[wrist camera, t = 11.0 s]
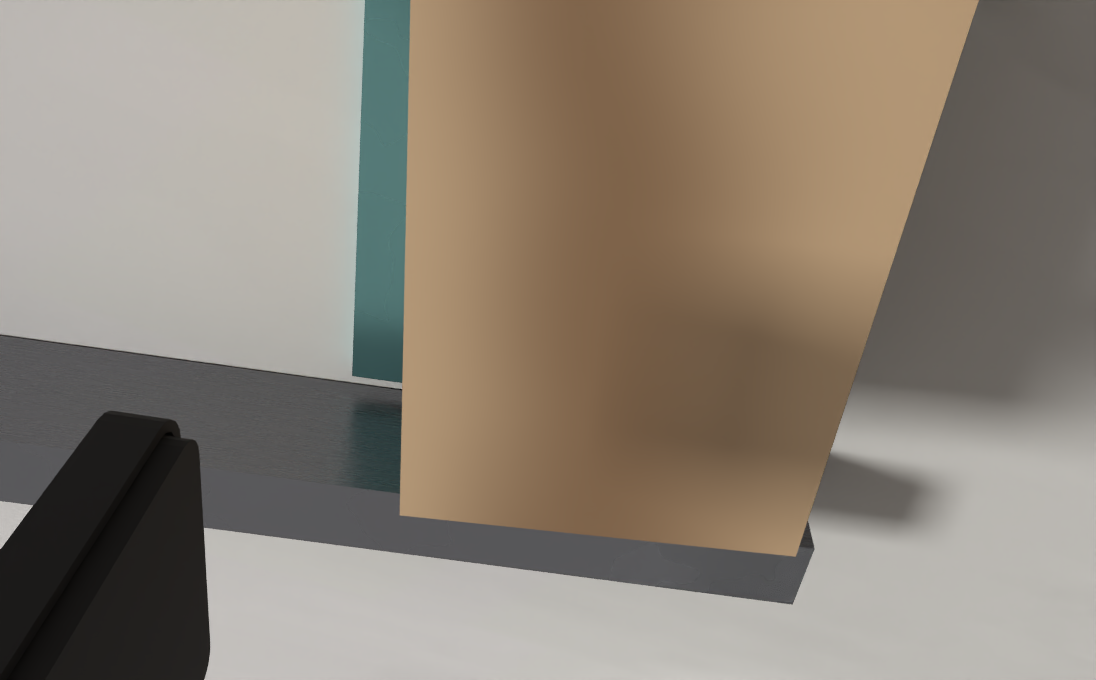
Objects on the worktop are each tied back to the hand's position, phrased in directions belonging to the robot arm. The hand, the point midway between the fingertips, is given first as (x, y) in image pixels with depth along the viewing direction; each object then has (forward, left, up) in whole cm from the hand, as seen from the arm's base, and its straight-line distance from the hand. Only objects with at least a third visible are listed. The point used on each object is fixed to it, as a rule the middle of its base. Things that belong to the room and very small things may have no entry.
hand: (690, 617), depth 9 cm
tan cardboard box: (0, -1, -10) cm, 10 cm away
